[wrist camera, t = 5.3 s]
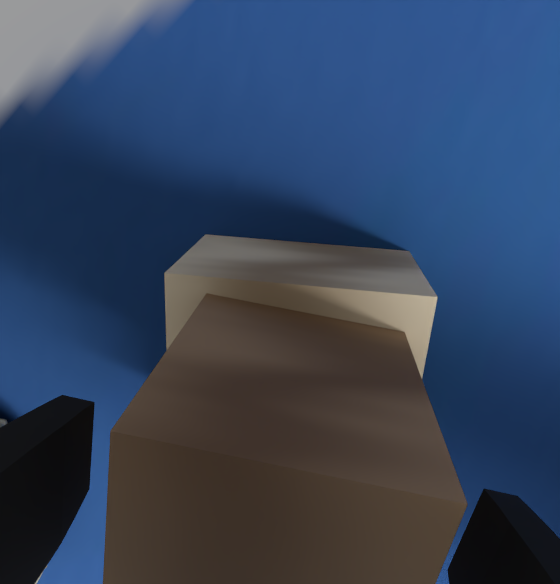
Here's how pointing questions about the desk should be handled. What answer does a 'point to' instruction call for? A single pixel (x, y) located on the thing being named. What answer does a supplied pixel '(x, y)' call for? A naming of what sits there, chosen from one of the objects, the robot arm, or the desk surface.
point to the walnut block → (280, 457)
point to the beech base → (306, 284)
